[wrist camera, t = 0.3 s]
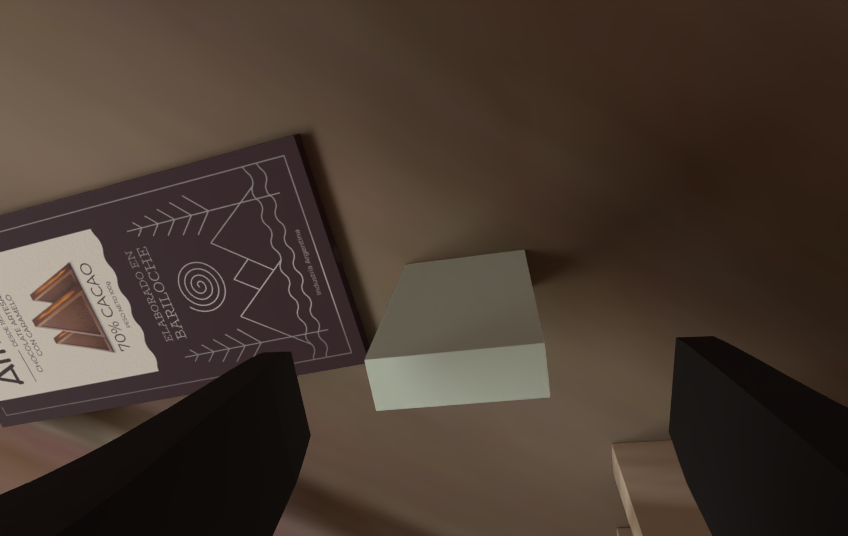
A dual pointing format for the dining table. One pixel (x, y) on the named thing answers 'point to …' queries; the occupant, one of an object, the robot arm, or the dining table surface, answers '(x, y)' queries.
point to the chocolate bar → (170, 285)
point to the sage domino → (459, 335)
